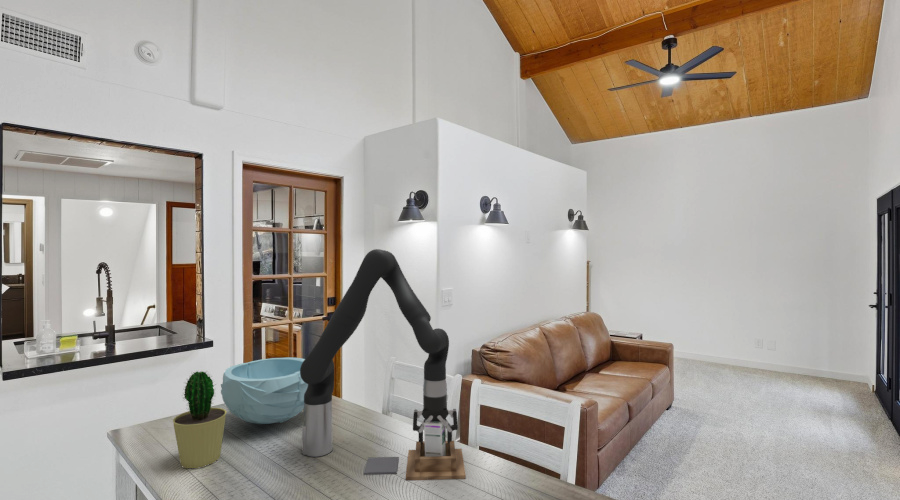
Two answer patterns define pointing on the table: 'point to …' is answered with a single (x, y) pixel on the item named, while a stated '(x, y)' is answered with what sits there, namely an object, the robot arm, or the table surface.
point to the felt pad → (381, 465)
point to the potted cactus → (199, 424)
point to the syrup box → (434, 439)
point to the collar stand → (435, 464)
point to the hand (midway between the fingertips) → (435, 442)
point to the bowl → (265, 390)
